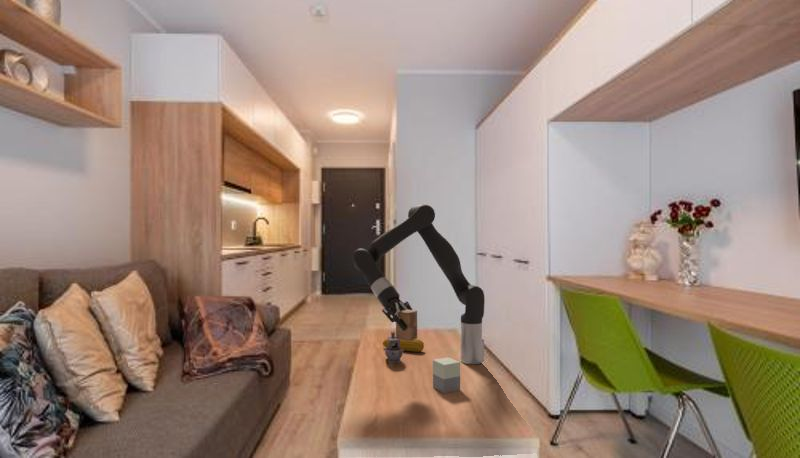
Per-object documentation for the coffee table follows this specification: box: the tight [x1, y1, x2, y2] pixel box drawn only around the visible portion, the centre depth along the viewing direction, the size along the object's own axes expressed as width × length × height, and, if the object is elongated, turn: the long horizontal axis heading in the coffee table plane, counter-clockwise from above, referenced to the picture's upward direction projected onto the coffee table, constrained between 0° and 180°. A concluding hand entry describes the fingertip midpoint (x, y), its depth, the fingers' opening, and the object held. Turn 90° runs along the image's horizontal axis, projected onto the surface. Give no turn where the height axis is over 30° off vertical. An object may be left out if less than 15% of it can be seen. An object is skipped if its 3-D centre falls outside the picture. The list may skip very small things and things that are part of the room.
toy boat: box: [384, 330, 404, 364], centre depth 187 cm, size 15×8×13 cm, turn 12°
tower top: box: [432, 357, 461, 379], centre depth 155 cm, size 7×7×5 cm
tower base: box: [432, 373, 461, 394], centre depth 155 cm, size 7×7×5 cm
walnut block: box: [395, 309, 418, 341], centre depth 157 cm, size 6×6×10 cm
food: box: [382, 338, 425, 353], centre depth 206 cm, size 21×6×6 cm, turn 67°
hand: (410, 327), depth 156 cm, fingers closed on walnut block, 5 cm apart
